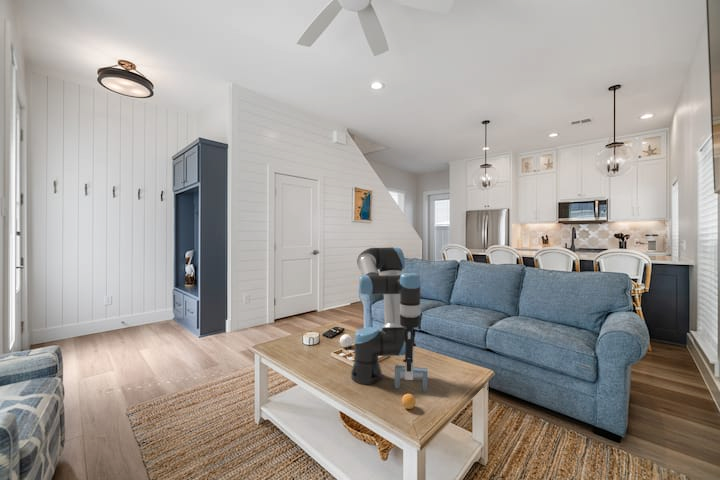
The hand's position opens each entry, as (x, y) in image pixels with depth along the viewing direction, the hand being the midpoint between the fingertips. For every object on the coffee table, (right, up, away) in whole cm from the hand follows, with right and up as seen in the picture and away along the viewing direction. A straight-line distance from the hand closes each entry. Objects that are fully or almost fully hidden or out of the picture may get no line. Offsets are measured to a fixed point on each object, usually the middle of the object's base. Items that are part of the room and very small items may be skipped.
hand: (409, 370), depth 116 cm
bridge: (+4, -18, +25) cm, 31 cm away
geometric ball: (-27, -17, +74) cm, 81 cm away
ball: (+1, -16, +9) cm, 18 cm away
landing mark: (+8, -18, +38) cm, 43 cm away
